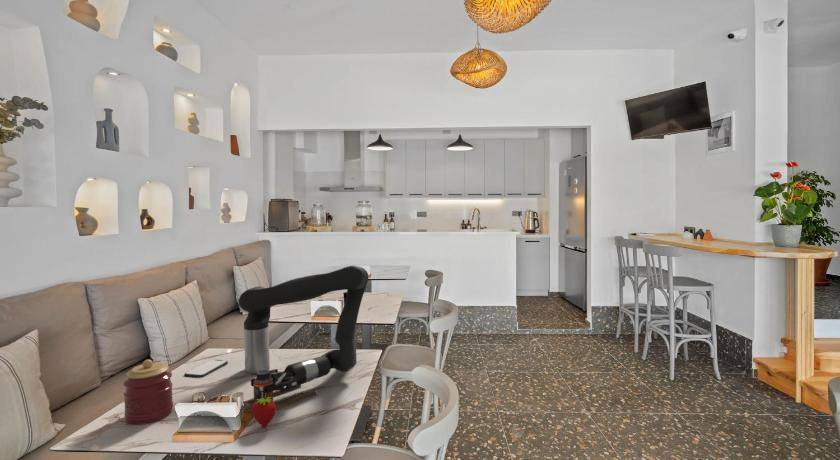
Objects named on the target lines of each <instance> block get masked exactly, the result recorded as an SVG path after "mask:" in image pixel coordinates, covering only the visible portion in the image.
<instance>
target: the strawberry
mask: <svg viewBox="0 0 840 460" xmlns="http://www.w3.org/2000/svg"><path fill="white" fill-rule="evenodd" d="M265 397H266V395H265ZM270 398H271V397H268V398H266V400H265V399H264V398H261V399H256V400H257V402H255V403H253V404H252V410H251V411H252V412H251V411H250V412H251V413H252V416H253V418H254V420H255V421H256V422H257V423H258V424H259V425H260V426H261V427H262V428H267V426H268V425H269V424H270V423H271V422H272V420H273V419H274V417H275V415H276V414H277V413H276V411H277V410H278V409H277V408H276V403H275V402H274V399H273V400H272V399H270ZM276 409H277V410H276Z"/></svg>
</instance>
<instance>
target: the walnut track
mask: <svg viewBox="0 0 840 460" xmlns="http://www.w3.org/2000/svg"><path fill="white" fill-rule="evenodd" d="M301 387H302V384H301V385H298V386H297V387H294V388H292V389H289V390H286V391H283V392H280V390H279V391H273V397H275V396H278V395H281V394H284V393H287V392H290V391H293V390H296V389H298V388H301ZM315 396H317V391H316V390H312V391H310V392H306V393H303V394H301V395H300V396H296V397H293V398H290V399H288V400H284V401H282V402H280V403H277V404H276V403H275V404H276V408H277V409H276V411H277V410H279V409H282V408H284V407H288V406H291V405H292V404H296V403H298V402H301V401H303V400H306V399H309V398H312V397H315ZM242 402H243V403H244V406H243V408H245V409H247V410H248V411H250V412H251V410H252V406H253V404H254V397H252V398H250V399H247V400H245V401H242Z"/></svg>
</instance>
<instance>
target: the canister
mask: <svg viewBox="0 0 840 460" xmlns="http://www.w3.org/2000/svg"><path fill="white" fill-rule="evenodd" d="M169 368H170V366H169V365H167V364H164V363H162V362H155V361H154V362H153V361H152V360H151V359H145V360H144V361H143V362H142V364H140V365H139V364H138V365H137V366H134V367H133V368H132V369H130V370H128V372H127V373H126V375H125V376H126V378H125V380H123V382H122V385H123V386H124V387H125V389H124V391H123V398H124V401H123V402H124V413H123V414H124V415H123V416H124V420H125V422H126V423H128V424H130V425H143V424H149V423H154V422H157V421H159V420H162V419H164V418H166V417H168V416H169V415H171V413H173V411H174V410H173V408H174V400H173V382H172V381H171V378H172V377H173V372H172V371H170V370H169Z"/></svg>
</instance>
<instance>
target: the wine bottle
mask: <svg viewBox="0 0 840 460" xmlns="http://www.w3.org/2000/svg"><path fill="white" fill-rule="evenodd" d="M346 297H347V291H345V292H343V297H342V298H343V306H344V305H345V301H346ZM353 344H354V362H353V365H352V367H354V366H355V364H357V327H356V328H355V334H354V339H353Z"/></svg>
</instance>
